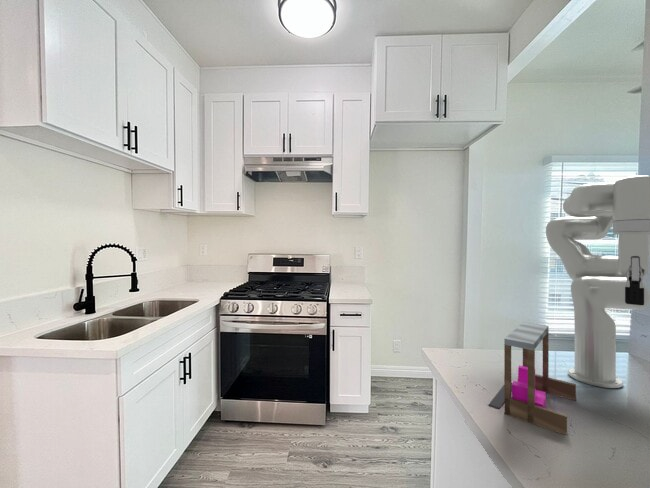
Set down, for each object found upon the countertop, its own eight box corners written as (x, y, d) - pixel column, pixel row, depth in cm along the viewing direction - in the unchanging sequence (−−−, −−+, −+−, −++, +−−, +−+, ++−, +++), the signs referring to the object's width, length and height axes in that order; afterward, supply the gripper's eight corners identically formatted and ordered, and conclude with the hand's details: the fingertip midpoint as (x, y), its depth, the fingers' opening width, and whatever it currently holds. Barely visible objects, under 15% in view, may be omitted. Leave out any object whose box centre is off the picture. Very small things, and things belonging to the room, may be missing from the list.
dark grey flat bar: (506, 382, 92) (506, 381, 92) (516, 385, 90) (516, 384, 90) (488, 405, 79) (488, 404, 79) (499, 409, 77) (499, 407, 77)
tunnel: (523, 384, 90) (523, 322, 90) (575, 398, 82) (575, 330, 82) (504, 414, 75) (504, 338, 75) (566, 435, 67) (566, 350, 67)
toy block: (543, 424, 71) (543, 392, 71) (511, 415, 75) (511, 384, 75) (546, 398, 83) (546, 370, 83) (519, 391, 87) (519, 365, 87)
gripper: (613, 229, 82) (613, 298, 82) (612, 227, 71) (612, 306, 71) (654, 228, 77) (654, 301, 77) (660, 226, 66) (660, 311, 66)
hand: (634, 303), depth 74 cm, fingers closed
